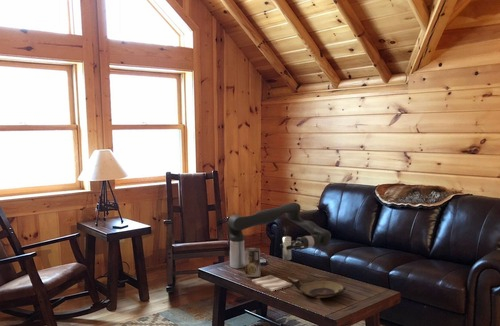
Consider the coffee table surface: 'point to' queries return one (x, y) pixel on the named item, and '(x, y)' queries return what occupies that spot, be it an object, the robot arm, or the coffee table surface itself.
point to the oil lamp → (318, 288)
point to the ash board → (271, 283)
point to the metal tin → (285, 252)
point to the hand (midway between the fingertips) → (283, 247)
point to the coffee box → (252, 262)
